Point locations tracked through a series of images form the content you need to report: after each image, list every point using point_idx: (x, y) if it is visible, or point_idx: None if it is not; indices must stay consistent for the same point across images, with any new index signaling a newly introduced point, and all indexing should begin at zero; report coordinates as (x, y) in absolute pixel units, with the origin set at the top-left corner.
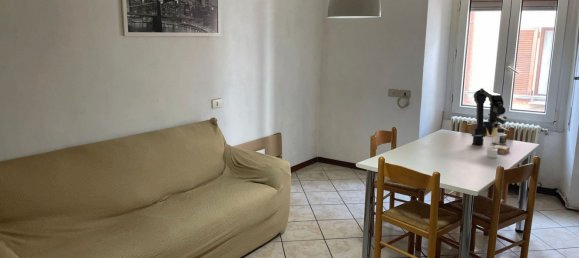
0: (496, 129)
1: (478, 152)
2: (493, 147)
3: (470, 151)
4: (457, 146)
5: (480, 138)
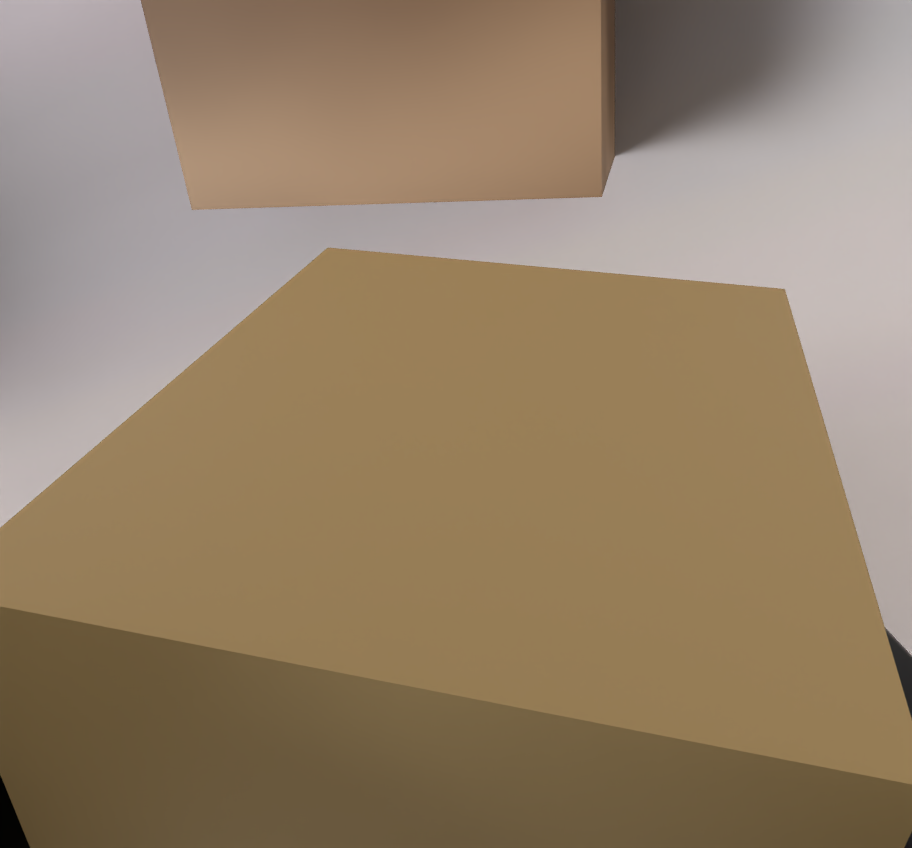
0: (305, 531)
1: (901, 427)
2: (601, 159)
3: (904, 591)
4: None
5: None
